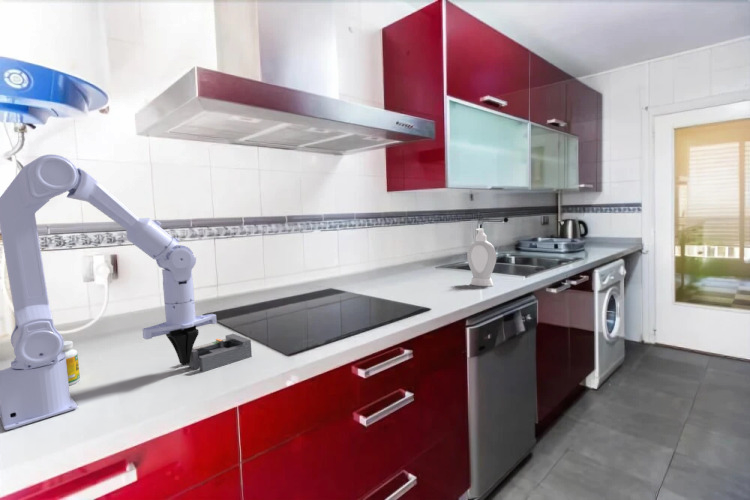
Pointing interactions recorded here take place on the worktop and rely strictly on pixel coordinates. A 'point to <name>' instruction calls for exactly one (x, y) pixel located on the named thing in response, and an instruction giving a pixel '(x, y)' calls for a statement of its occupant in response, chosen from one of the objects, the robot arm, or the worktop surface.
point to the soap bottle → (481, 260)
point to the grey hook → (194, 355)
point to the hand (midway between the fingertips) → (184, 363)
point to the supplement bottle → (71, 362)
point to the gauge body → (223, 352)
